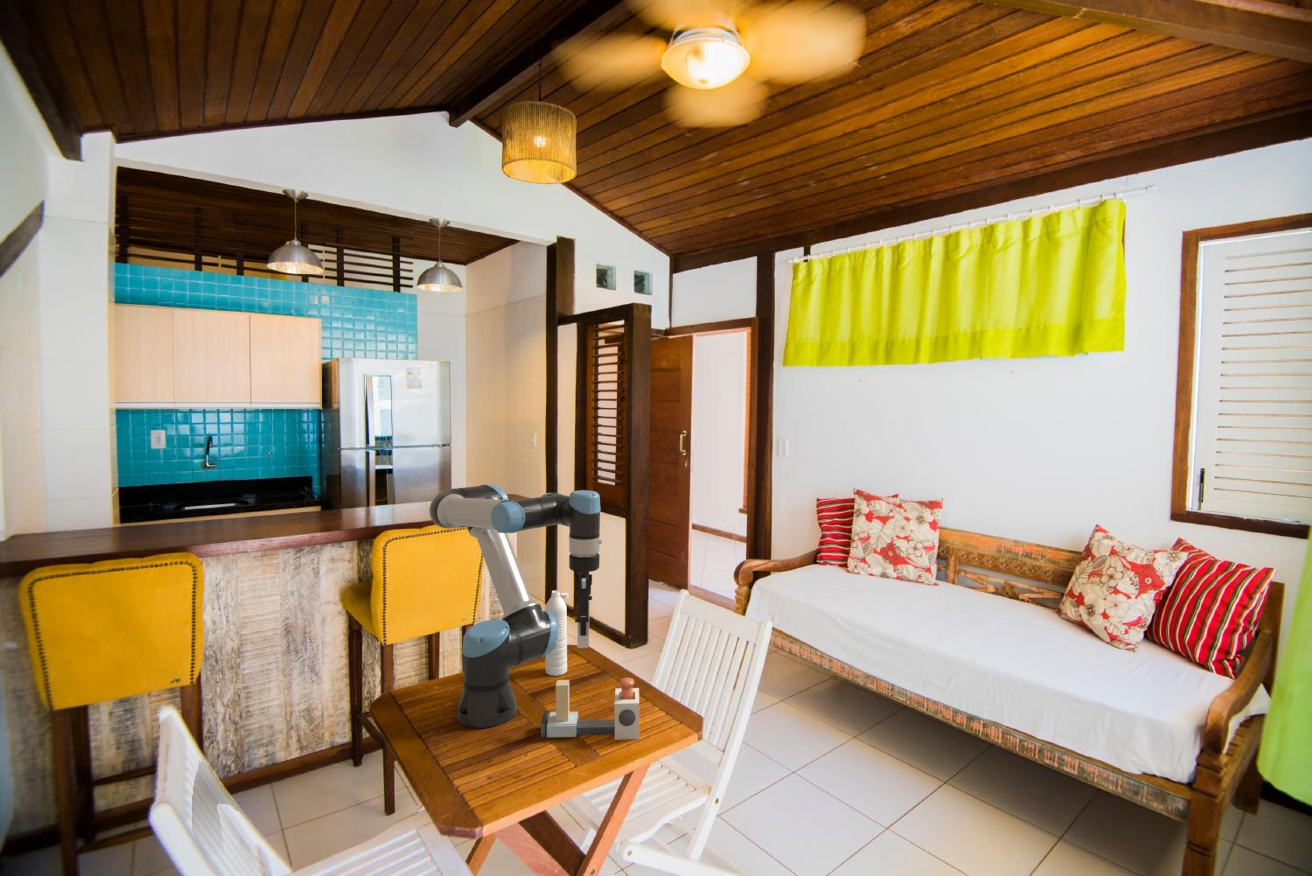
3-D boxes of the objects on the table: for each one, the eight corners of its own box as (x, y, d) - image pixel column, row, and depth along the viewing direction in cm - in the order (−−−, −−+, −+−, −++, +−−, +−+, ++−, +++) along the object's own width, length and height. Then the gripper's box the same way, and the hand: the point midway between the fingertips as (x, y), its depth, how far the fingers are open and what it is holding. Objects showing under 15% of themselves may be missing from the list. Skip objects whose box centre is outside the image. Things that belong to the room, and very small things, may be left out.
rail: (541, 739, 151) (540, 723, 150) (544, 726, 157) (544, 710, 156) (618, 737, 151) (618, 721, 151) (619, 724, 157) (619, 709, 157)
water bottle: (541, 671, 188) (540, 591, 187) (558, 665, 193) (557, 586, 191) (559, 680, 182) (558, 597, 181) (576, 673, 187) (575, 592, 186)
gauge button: (619, 709, 152) (619, 684, 152) (620, 702, 156) (619, 677, 155) (634, 709, 152) (634, 684, 152) (634, 702, 156) (634, 677, 156)
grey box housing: (614, 740, 150) (614, 704, 149) (615, 722, 158) (615, 688, 158) (639, 740, 150) (639, 704, 150) (638, 722, 159) (638, 688, 158)
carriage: (547, 737, 150) (546, 689, 150) (550, 722, 157) (550, 676, 156) (575, 736, 151) (575, 688, 150) (578, 722, 157) (577, 676, 157)
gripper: (599, 567, 142) (598, 657, 143) (599, 541, 166) (598, 617, 168) (566, 567, 141) (566, 657, 142) (571, 541, 166) (570, 618, 167)
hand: (583, 636), depth 155 cm, fingers open, 13 cm apart
